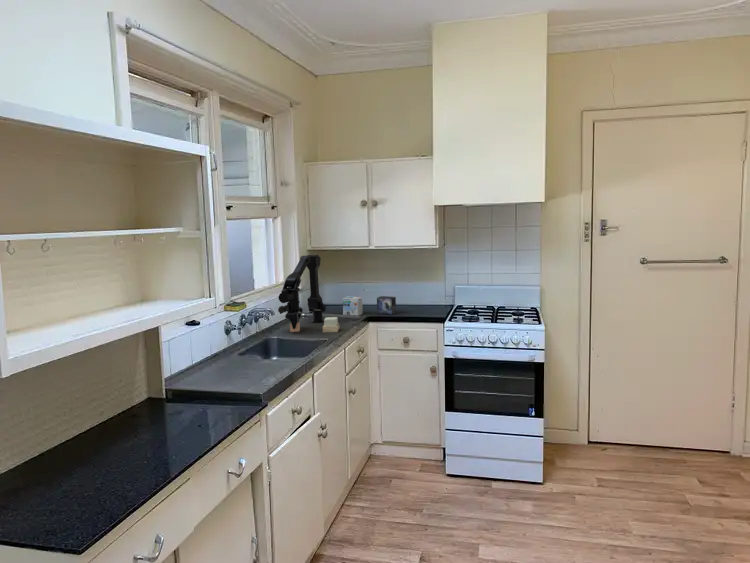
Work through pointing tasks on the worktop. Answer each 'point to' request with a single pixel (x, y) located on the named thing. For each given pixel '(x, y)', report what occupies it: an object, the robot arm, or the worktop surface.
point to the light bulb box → (352, 306)
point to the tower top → (331, 321)
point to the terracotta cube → (295, 328)
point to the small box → (386, 305)
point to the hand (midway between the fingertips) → (294, 328)
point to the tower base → (331, 328)
